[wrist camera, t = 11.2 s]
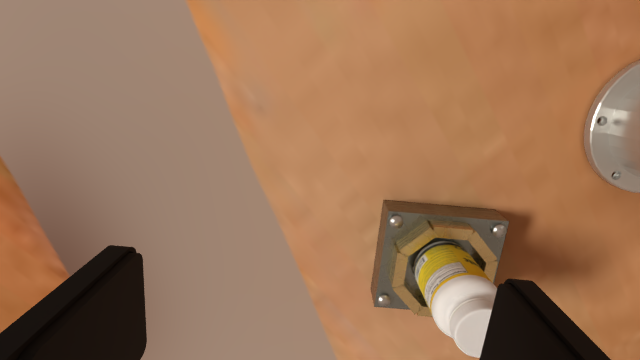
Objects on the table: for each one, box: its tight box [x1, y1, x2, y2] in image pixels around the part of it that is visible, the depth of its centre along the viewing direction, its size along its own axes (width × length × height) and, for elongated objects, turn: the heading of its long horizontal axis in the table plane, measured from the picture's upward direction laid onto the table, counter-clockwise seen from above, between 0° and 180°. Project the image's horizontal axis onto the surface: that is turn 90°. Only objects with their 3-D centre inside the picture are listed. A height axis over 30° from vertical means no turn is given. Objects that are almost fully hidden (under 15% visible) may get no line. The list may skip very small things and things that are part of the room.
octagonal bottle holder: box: [371, 200, 509, 317], centre depth 36 cm, size 11×10×5 cm
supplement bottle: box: [413, 241, 497, 358], centre depth 31 cm, size 5×5×10 cm
